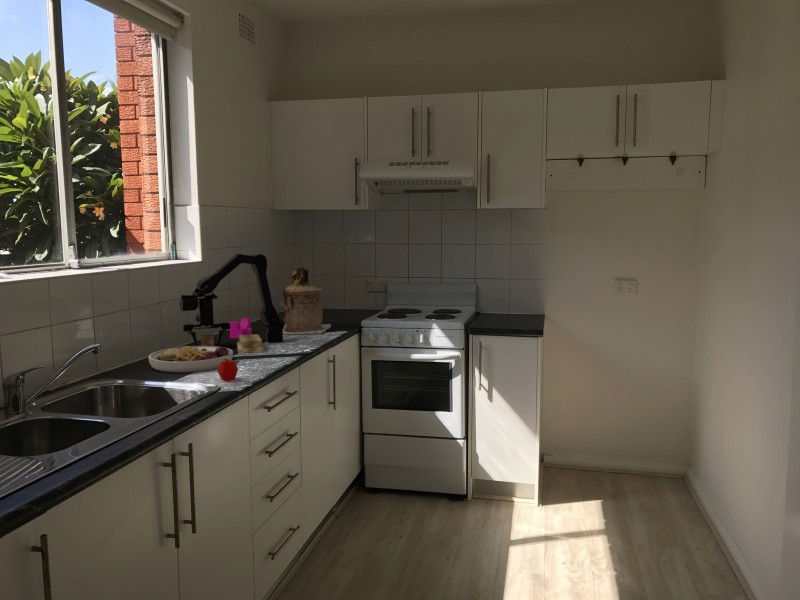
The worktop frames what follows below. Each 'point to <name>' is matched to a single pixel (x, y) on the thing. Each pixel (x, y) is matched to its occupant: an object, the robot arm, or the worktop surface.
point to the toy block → (240, 328)
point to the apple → (227, 370)
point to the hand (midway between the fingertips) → (207, 346)
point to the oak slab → (250, 341)
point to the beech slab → (249, 349)
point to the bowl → (189, 358)
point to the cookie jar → (302, 306)
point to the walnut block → (207, 340)
